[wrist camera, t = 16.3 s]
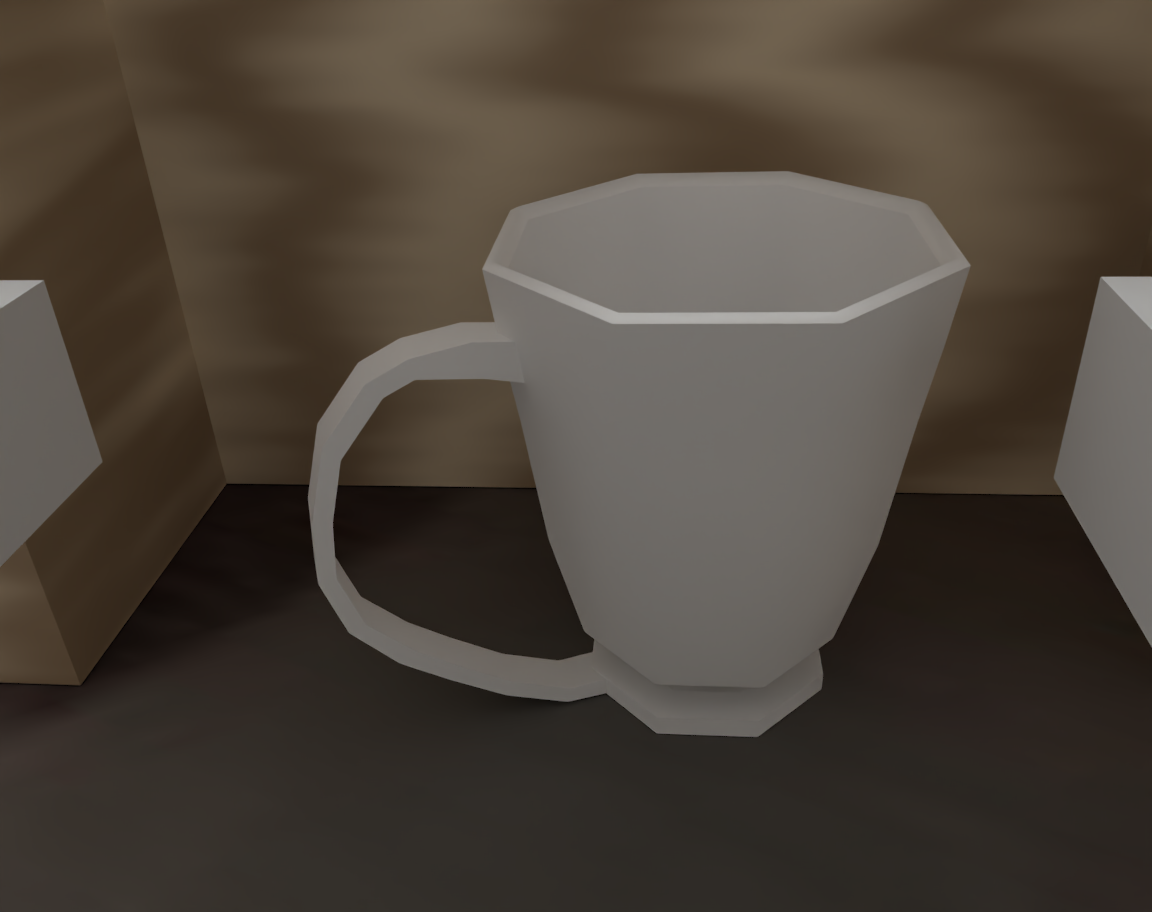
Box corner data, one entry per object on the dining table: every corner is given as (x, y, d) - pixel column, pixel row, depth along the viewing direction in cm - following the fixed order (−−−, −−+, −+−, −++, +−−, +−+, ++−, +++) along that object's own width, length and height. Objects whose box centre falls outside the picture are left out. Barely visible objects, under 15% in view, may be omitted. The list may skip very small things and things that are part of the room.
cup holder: (1151, 450, 24) (1469, -660, 15) (1369, 729, 16) (2330, -1221, 7) (175, 441, 27) (-92, -518, 17) (-31, 681, 19) (-726, -822, 9)
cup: (986, 739, 17) (1094, 273, 13) (381, 917, 14) (270, 414, 10) (786, 516, 23) (815, 148, 18) (331, 617, 20) (248, 219, 16)
